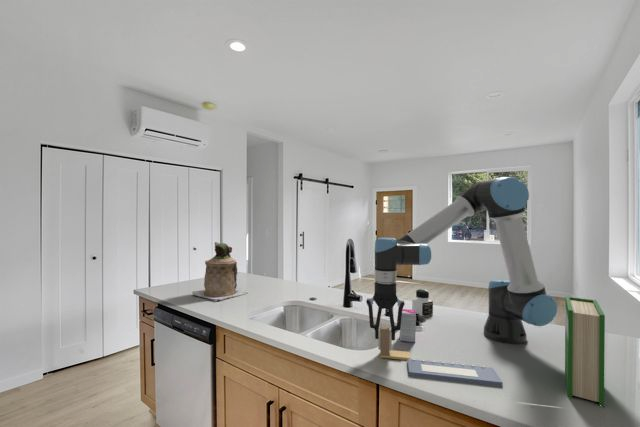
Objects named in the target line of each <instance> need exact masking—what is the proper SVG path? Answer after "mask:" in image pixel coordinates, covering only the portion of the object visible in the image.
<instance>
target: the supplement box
mask: <svg viewBox="0 0 640 427" xmlns="http://www.w3.org/2000/svg"><path fill="white" fill-rule="evenodd" d="M416 322H417V315H416V313H415V310H412V309H406V308H405V309H404V308H403V309H402V318H401V328H400V330H399V342H401V343H402V342H403V343H411V344H412V343H413V344H416V330H417V329H416V327H417V326H416V325H417V323H416Z"/></svg>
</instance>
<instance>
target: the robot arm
mask: <svg viewBox="0 0 640 427" xmlns="http://www.w3.org/2000/svg"><path fill="white" fill-rule="evenodd" d="M529 197H530V192H529V189H528V187H527V185H526V184H525V183H524V181H522V180H520V179H518V178H517V177H512V176H500V177H496V178H491V179H485V180H481V181H478V182H477V183H475V184H473V185H472V186H470V187H469V188H468V189H466V190H464V191H463V192H462V193H460V194H459V195H458V196H456V197H455V199H454V200H455V201H453V202H452V203H451V204H449V205H447V206H446V207H444V208H443V209H441V210H440V211H439V212H437V213H436V214H434V215H432V216H431V217H430V218H428V219H426V221H424V222H422V223H421V224H420V225H418V226H417V227H414V229H412V230H411V231H409V232H408V233H407V234H404V236H402V237H400V238H397V239H396V238H395V237H378V238H376V239H375V241H374V242H375V243H374V250H373V251H374V281H375V282H374V294H373V296H372V297H370V298H366V300H365V302H366V305H367V307H368V317H369V318H368V319H369V328H371V329H374V338H375V339H376V340H378V342H377V343H378V346H377V347H378V348H377V350H379V351H380V342H381V327H380V325H381V324H380V323H381V317H382V311H383V310H386V309H387V310H388V314H389V322H390V323H389V324H390V328H389V351H392V350H393V349H392V346H393V344H392V343H393V342H392V341H395V340H396V332H397V331H400V328H401V318H402V309H404V308H405V307H404V306H405V300H401V299H399V298H398V296H397V283H396V282H397V270H398V269H397V268H398V267H397V266H401V265H402V266H411V265H412V266H422V265H423V266H424V265H429V264H430V262H431V260H432V248H431V247H430V245H429V243H430V242H432V241H434V240H435V239H436V238H437V237H439V236H440V235H442V234H444V233H445V232H447V231H448V230H450V229H451V228H452V227H454V226H455V225H457V224H459V223H460V222H461V221H462V220H463V221H464V219H466V218H467V217H473V216H474V215H476V214H478V213H480V212H486V211H487V215H488V219H489V220H492V221H494V224H495V228H496V231H497V235H498V239H499V243H500V246H501V251H502V256H503V259H504V262H505V267H506V270H507V271H506V272H507V274H508V279H491V280H490V281H489V283H488V289H487V290H488V315H487V317H486V321H485V322H484V323H485V324H484V326H483V335H484V336H486V337H487V338H488V339H491V340H493V341H497V342H500V343H506V344H514V345H515V344H516V345H517V344H525V343H526V342H527V332H526V330H525V327H524V323H526V324H528V325H533V326H535V327H543V326H547V325H549V324H550V323H552V322H553V320H554V318H556V316H557V313H558V304H557V301H556V300H555V298H553V297H552V296H551V295H549V294H547V291H546V287H545V284H544V283H543V282H542V281H539V279H538V276H537V272H536V268H535V264H534V261H533V256H532V253H531V252H532V251H531V249H530V244H529V241H528V238H527V233H526V229H525V225H524V221H523V215H524V214H525V213H526V208H525V206H526V205H527V203H528V200H529V199H530V198H529ZM374 303H375V304H376V305H377V308H378V309H377V314H376V321H375V320H374V311H373V304H374ZM396 304H397V307H398V309H397V318H396V325H395V319H394V312H393V307H394V306H395V305H396ZM374 321H375V322H374ZM523 322H524V323H523Z"/></svg>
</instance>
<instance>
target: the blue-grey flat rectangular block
mask: <svg viewBox="0 0 640 427" xmlns="http://www.w3.org/2000/svg"><path fill="white" fill-rule="evenodd" d="M407 369H408V376H409V377H415V378H422V379H423V378H425V379H433V380H441V381H442V380H443V381H449V382H450V381H452V382H460V383H469V384H475V385H476V384H477V385H483V386H494V387H501V388H502V387H503V381H502V380H501V378H500V376H499V375H498V373H497V372H496V371H495V369H494V368H493V366H484V365H473V364H464V363H454V362H444V361H434V360H426V359H425V360H424V359H416V358H415V359H414V358H410V359H408V360H407Z"/></svg>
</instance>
